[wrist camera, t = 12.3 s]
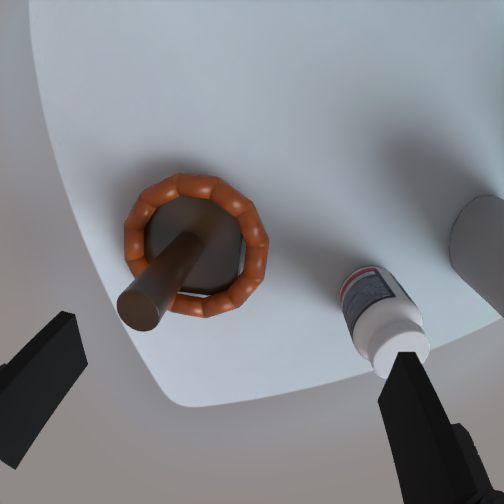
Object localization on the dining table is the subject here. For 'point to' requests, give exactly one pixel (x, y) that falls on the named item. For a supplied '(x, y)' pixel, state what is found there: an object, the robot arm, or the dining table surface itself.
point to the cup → (481, 248)
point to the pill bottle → (381, 318)
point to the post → (182, 259)
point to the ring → (230, 203)
